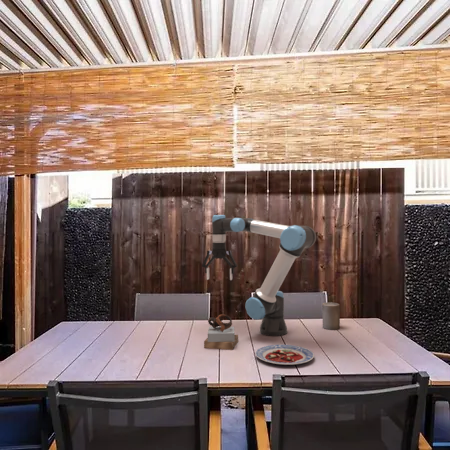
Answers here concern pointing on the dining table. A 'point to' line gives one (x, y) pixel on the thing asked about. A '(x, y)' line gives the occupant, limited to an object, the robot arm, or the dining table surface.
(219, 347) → the base slab
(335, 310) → the pillar candle
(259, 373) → the dining table surface
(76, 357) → the dining table surface
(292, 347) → the ceramic plate
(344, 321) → the dining table surface
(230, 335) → the top slab
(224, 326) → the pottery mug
